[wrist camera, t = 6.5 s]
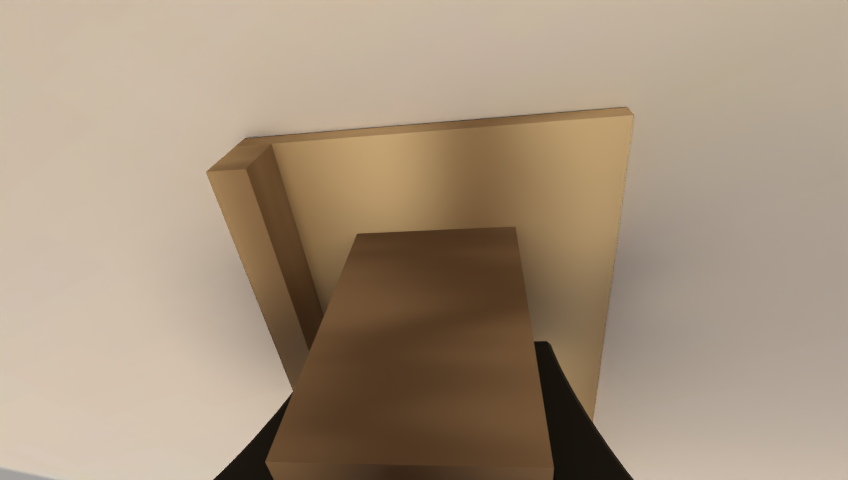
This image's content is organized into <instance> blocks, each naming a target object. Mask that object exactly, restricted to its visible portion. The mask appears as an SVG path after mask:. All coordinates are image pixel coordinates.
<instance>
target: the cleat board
mask: <svg viewBox="0 0 848 480" xmlns="http://www.w3.org/2000/svg"><path fill="white" fill-rule="evenodd" d="M633 119H634V114H633V113H632V112H631V111H630V110H629V109H628V108H627V107H624V108H612V109H600V110H588V111H575V112H563V113H551V114H539V115H526V116H514V117H502V118H490V119H477V120H465V121H453V122H441V123H428V124H416V125H404V126H392V127H379V128H367V129H355V130H343V131H330V132H318V133H306V134H294V135H281V136H269V137H257V138H245V139H244V140H243V141H241V142H240V143H239V144H238V145H237V146H236V147H234V148H233V149H232V150H231V151H230V152H229V153H227V154H226V155H225V156H224V157H223V158H222V159H220V160H219V161H218V162H217V163H216V164H215V165H213V166H212V167H211V168H210V169H209V170H208V171H206V173H207V176H208V178H209V181H210V183H211V186H212V188H213V191H214V193H215V196H216V198H217V201H218V203H219V206H220V208H221V211H222V213H223V216H224V218H225V221H226V224H227V226H228V229H229V231H230V234H231V236H232V239H233V241H234V244H235V246H236V249H237V251H238V254H239V256H240V259H241V261H242V264H243V266H244V269H245V271H246V274H247V276H248V279H249V281H250V284H251V286H252V289H253V291H254V294H255V296H256V299H257V301H258V304H259V306H260V309H261V311H262V314H263V316H264V319H265V321H266V324H267V326H268V329H269V331H270V334H271V337H272V339H273V342H274V344H275V347H276V349H277V352H278V354H279V357H280V359H281V362H282V364H283V367H284V369H285V372H286V374H287V377H288V379H289V382H290V384H291V387H292V389H293V391H294V389H295V387H296V384H297V382H298V379H299V377H300V374H301V372H302V369H303V367H304V364H305V362H306V359H307V357H308V354H309V352H310V349H311V347H312V344H313V342H314V339H315V337H316V334H317V332H318V329H319V327H320V324H321V322H322V320H323V317H324V315H325V312H326V310H327V307H328V305H329V302H330V300H331V297H332V295H333V292H334V290H335V287H336V285H337V282H338V280H339V277H340V275H341V272H342V270H343V267H344V265H345V262H346V260H347V257H348V255H349V252H350V250H351V248H352V245H353V243H354V240H355V238H356V235H357V234H362V233H384V232H406V231H428V230H450V229H472V228H494V227H516V233H517V239H518V246H519V252H520V258H521V264H522V271H523V277H524V283H525V290H526V296H527V302H528V308H529V315H530V321H531V327H532V334H533V340H534V341H547V342H549V343H550V344H551V346H552V349H553V351H554V353H555V356H556V358H557V360H558V362H559V365H560V367H561V369H562V371H563V373H564V374H565V376H566V378H567V380H568V382H569V384H570V386H571V388H572V389H573V391H574V393H575V395H576V396H577V398H578V400H579V401H580V403H581V405H582V406H583V408H584V409H585V411H586V413H587V414H588V416H589V418H590V419H591V421H592V422H593V417H594V409H595V402H596V394H597V387H598V379H599V372H600V365H601V357H602V350H603V342H604V335H605V327H606V320H607V312H608V305H609V298H610V290H611V283H612V275H613V268H614V260H615V253H616V245H617V238H618V231H619V223H620V216H621V208H622V201H623V193H624V186H625V179H626V171H627V164H628V156H629V149H630V141H631V134H632V126H633Z"/></svg>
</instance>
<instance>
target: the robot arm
mask: <svg viewBox="0 0 848 480" xmlns="http://www.w3.org/2000/svg"><path fill="white" fill-rule="evenodd" d="M534 346H535V352H536V359H537V365H538V371H539V378H540V384H541V390H542V396H543V403H544V409H545V415H546V422H547V428H548V434H549V440H550V447H551V453H552V459H553V466H554V474H553V480H633V478H632V477H631V476H630V475H629V473H628V472H627V471H626V469H625V468H624V467H623V465H622V464H621V463H620V461H619V460H618V459H617V457H616V456H615V455H614V453H613V452H612V450H611V449H610V448H609V446H608V445H607V443H606V442H605V440H604V439H603V437H602V436H601V434H600V433H599V432H598V430H597V429H596V427H595V425H594V424H593V422H592V421H591V419H590V418H589V416H588V414H587V413H586V411H585V409H584V408H583V406H582V405H581V403H580V401H579V400H578V398H577V396H576V395H575V393H574V391H573V389H572V388H571V386H570V384H569V382H568V380H567V378H566V376H565V374H564V373H563V371H562V369H561V367H560V365H559V362H558V360H557V358H556V356H555V353H554V351H553V349H552V346H551V344H550V343H549V342H547V341H534ZM292 394H293V392H292ZM292 394H291V395H290V396H289V397H288V399H287V400H286V401H285V403H284V404H283V405H282V406H281V408H280V409H279V410H278V411H277V412H276V414H275V415H274V416H273V417H272V418H271V419H270V421H269V422H268V423H267V424H266V425H265V426H264V427H263V429H262V430H261V431H260V432H259V433H258V434H257V435H256V437H255V438H254V439H253V440H252V441H251V442H250V443H249V444H248V445H247V446H246V447H245V449H244V450H243V451H242V452H241V453H240V454H239V455H238V456H237V457H236V458H235V459H234V460H233V461H232V462H231V463H230V464H229V465H228V466H227V467H226V468H225V469H224V470H223V471H222V472H221V473H220V474H219V475H218V476H217V477H216V478H215V479H213V480H274V479H273V477H272V475H271V473H270V471H269V469H268V467H267V465H266V463H265V461H266V458H267V456H268V454H269V451H270V449H271V446H272V444H273V441H274V439H275V436H276V434H277V431H278V429H279V426H280V424H281V421H282V419H283V416H284V414H285V411H286V409H287V406H288V404H289V401H290V399H291V396H292Z"/></svg>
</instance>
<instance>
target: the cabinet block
mask: <svg viewBox="0 0 848 480" xmlns="http://www.w3.org/2000/svg"><path fill="white" fill-rule="evenodd" d="M265 463H266V465H267V467H268V469H269V471H270V473H271V475H272V477H273V479H274V480H553V474H554V466H553V459H552V453H551V447H550V440H549V434H548V428H547V422H546V415H545V409H544V403H543V396H542V390H541V384H540V378H539V371H538V365H537V359H536V352H535V346H534V340H533V334H532V327H531V321H530V315H529V308H528V302H527V296H526V290H525V283H524V277H523V271H522V264H521V258H520V252H519V246H518V239H517V233H516V227H494V228H472V229H450V230H428V231H406V232H384V233H362V234H357V235H356V238H355V240H354V243H353V245H352V248H351V250H350V252H349V255H348V257H347V260H346V262H345V265H344V267H343V270H342V272H341V275H340V277H339V280H338V282H337V285H336V287H335V290H334V292H333V295H332V297H331V300H330V302H329V305H328V307H327V310H326V312H325V315H324V317H323V320H322V322H321V324H320V327H319V329H318V332H317V334H316V337H315V339H314V342H313V344H312V347H311V349H310V352H309V354H308V357H307V359H306V362H305V364H304V367H303V369H302V372H301V374H300V377H299V379H298V382H297V384H296V387H295V389H294V391H293V394H292V396H291V399H290V401H289V404H288V406H287V409H286V411H285V414H284V416H283V419H282V421H281V424H280V426H279V429H278V431H277V434H276V436H275V439H274V441H273V444H272V446H271V449H270V451H269V454H268V456H267V458H266V461H265Z"/></svg>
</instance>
